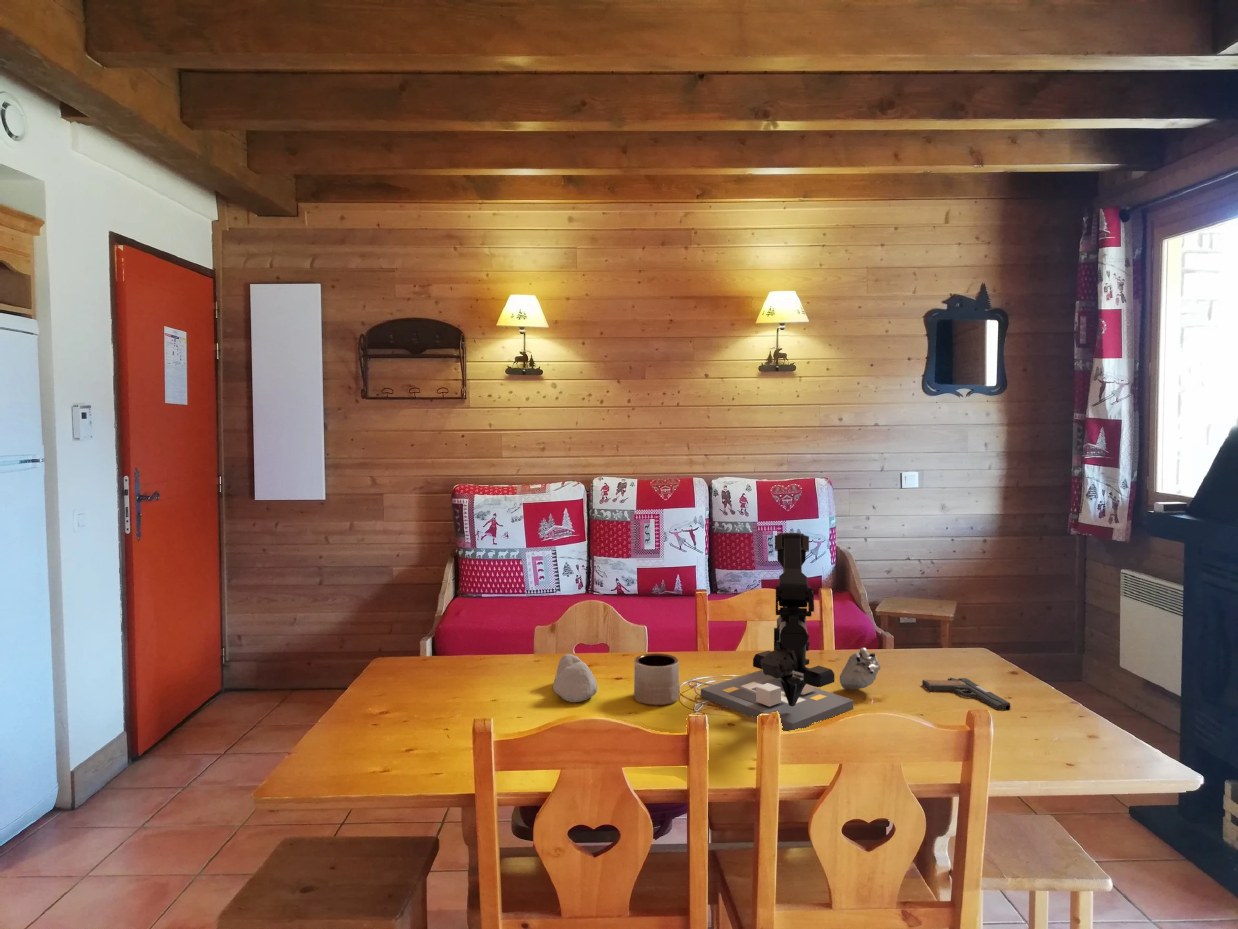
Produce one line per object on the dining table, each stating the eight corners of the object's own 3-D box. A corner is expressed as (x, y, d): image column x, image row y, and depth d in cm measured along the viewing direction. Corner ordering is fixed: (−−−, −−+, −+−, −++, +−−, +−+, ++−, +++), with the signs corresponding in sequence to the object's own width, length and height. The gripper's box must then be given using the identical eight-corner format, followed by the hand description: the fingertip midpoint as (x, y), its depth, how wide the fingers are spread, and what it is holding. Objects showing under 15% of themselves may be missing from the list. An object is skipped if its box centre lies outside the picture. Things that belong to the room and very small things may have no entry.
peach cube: (800, 686, 191) (800, 672, 190) (813, 691, 188) (814, 676, 187) (789, 690, 188) (790, 675, 188) (803, 694, 185) (803, 680, 185)
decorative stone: (605, 692, 186) (581, 659, 186) (571, 719, 185) (546, 685, 184) (596, 674, 203) (574, 643, 203) (565, 698, 202) (542, 667, 201)
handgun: (965, 718, 180) (1012, 712, 182) (966, 708, 180) (1012, 702, 182) (918, 687, 199) (961, 682, 201) (918, 678, 198) (961, 673, 201)
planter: (676, 708, 183) (676, 668, 183) (630, 705, 186) (630, 665, 185) (681, 692, 194) (681, 654, 193) (638, 689, 196) (638, 651, 196)
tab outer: (767, 697, 183) (767, 683, 183) (781, 702, 180) (781, 687, 180) (756, 701, 181) (756, 686, 181) (769, 706, 178) (769, 691, 177)
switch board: (761, 677, 204) (761, 669, 204) (853, 708, 183) (853, 699, 182) (700, 696, 191) (700, 687, 191) (792, 732, 169) (792, 722, 169)
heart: (880, 684, 198) (872, 637, 198) (887, 697, 189) (879, 648, 188) (839, 689, 199) (831, 643, 199) (844, 702, 190) (836, 654, 190)
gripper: (736, 634, 176) (736, 702, 177) (803, 654, 162) (802, 727, 163) (769, 625, 183) (768, 691, 184) (836, 644, 169) (835, 714, 170)
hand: (791, 705), depth 175 cm, fingers closed
